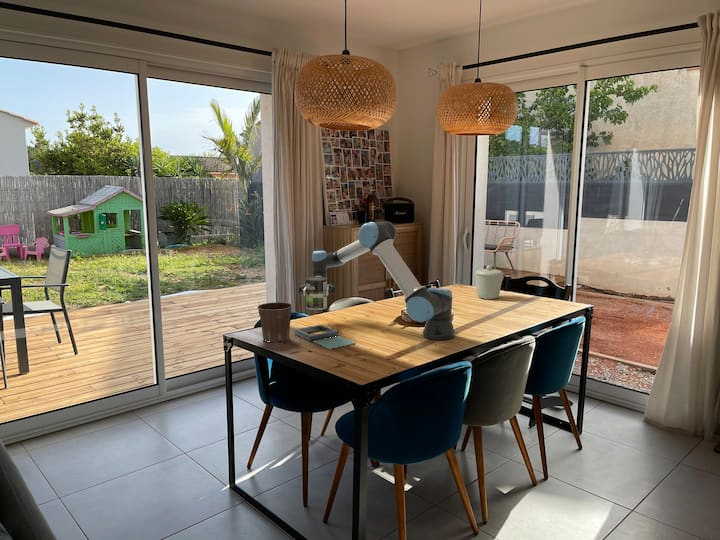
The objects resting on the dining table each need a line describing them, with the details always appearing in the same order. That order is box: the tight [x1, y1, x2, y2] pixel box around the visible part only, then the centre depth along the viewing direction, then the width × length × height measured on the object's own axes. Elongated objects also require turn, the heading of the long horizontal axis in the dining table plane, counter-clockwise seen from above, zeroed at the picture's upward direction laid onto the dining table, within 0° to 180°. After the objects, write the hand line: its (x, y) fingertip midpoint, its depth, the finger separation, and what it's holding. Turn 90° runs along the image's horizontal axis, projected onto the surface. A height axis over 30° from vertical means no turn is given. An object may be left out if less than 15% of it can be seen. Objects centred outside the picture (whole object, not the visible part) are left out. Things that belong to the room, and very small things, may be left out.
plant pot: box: [256, 301, 294, 343], centre depth 251 cm, size 16×16×16 cm
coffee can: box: [304, 276, 328, 311], centre depth 255 cm, size 10×10×14 cm
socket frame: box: [293, 324, 339, 343], centre depth 259 cm, size 15×15×2 cm
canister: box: [474, 264, 504, 300], centre depth 343 cm, size 18×18×21 cm
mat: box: [312, 335, 356, 350], centre depth 246 cm, size 14×14×1 cm
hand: (315, 292), depth 251 cm, fingers closed on coffee can, 10 cm apart
